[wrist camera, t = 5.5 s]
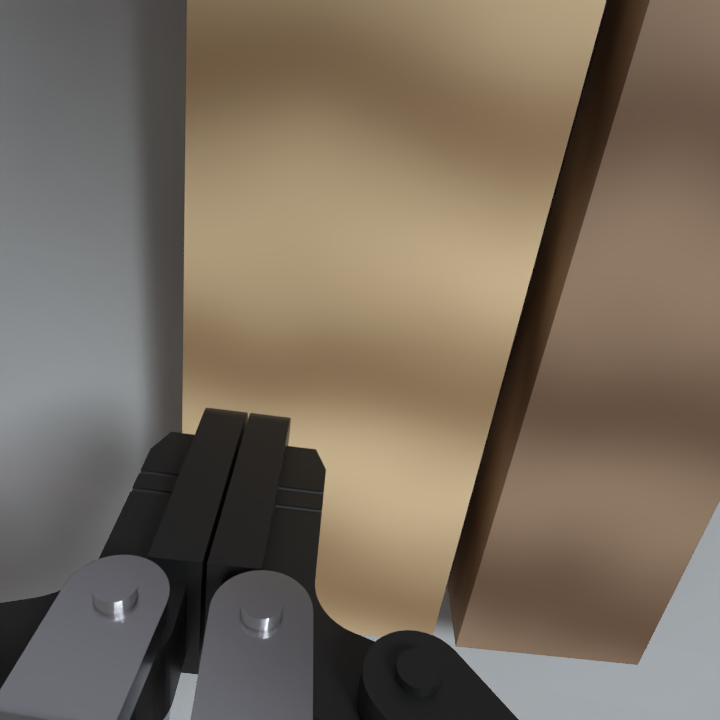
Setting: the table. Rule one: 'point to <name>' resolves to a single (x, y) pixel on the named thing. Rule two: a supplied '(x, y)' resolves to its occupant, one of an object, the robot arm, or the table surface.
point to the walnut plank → (610, 363)
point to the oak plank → (372, 252)
